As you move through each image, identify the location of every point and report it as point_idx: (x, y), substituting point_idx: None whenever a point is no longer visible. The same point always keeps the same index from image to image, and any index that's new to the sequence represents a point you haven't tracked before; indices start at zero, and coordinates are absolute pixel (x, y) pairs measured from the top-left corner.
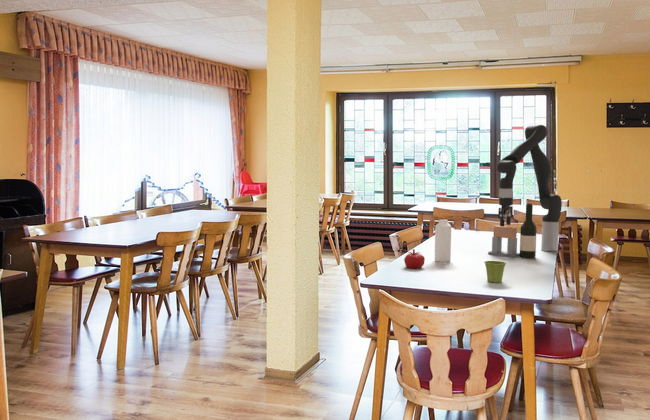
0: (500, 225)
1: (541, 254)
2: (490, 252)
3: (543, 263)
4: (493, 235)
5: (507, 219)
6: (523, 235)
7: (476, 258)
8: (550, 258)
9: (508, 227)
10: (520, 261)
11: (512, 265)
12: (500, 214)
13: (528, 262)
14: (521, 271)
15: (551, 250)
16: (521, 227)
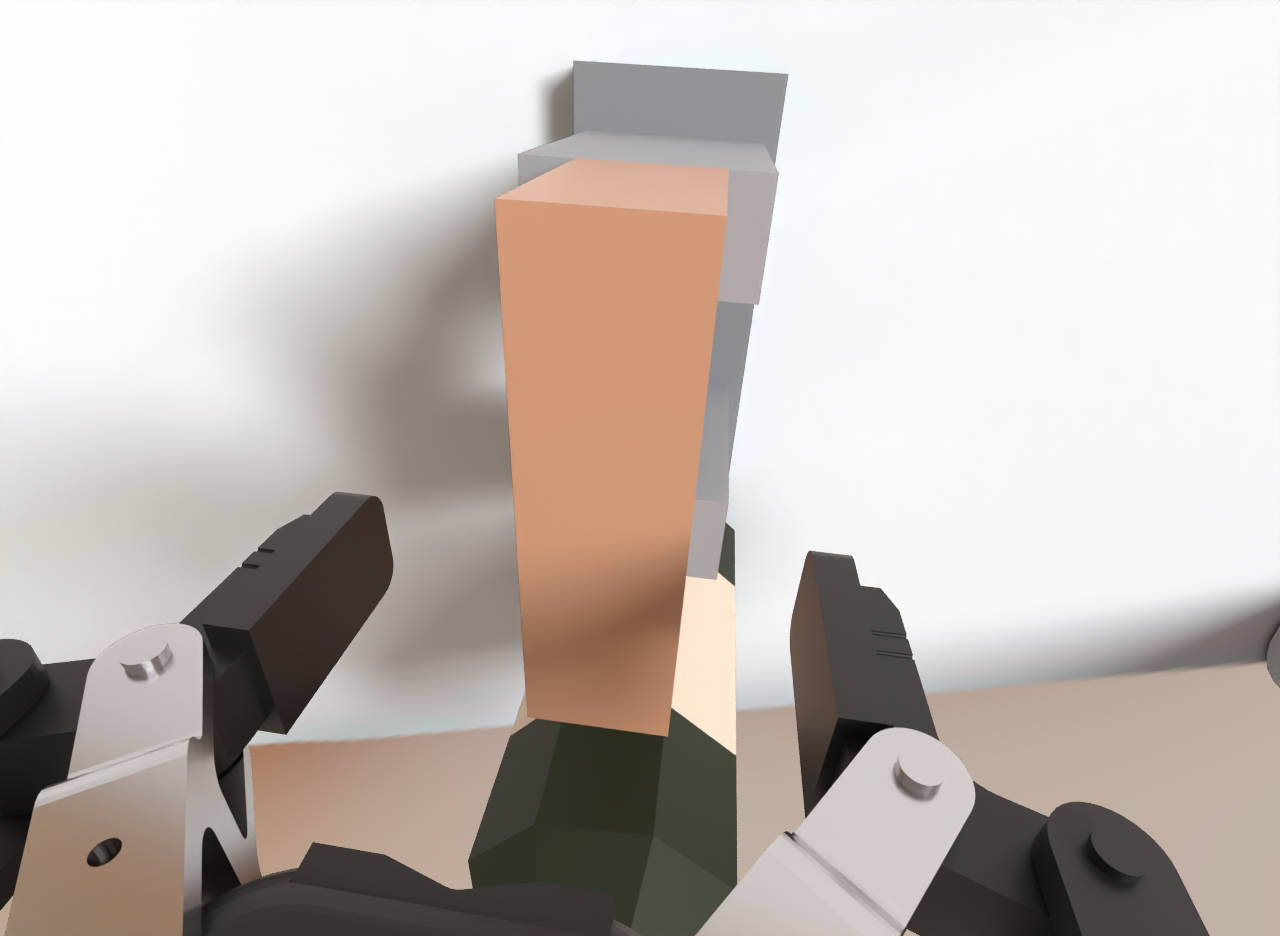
0: (335, 504)
1: (972, 616)
2: (573, 108)
3: (449, 693)
4: (567, 162)
5: (822, 703)
6: (509, 739)
7: (137, 68)
8: (743, 702)
9: (526, 617)
10: (392, 547)
11: (155, 539)
12: (58, 820)
13: (400, 606)
14: (25, 634)
15: (1273, 672)
16: (513, 834)
